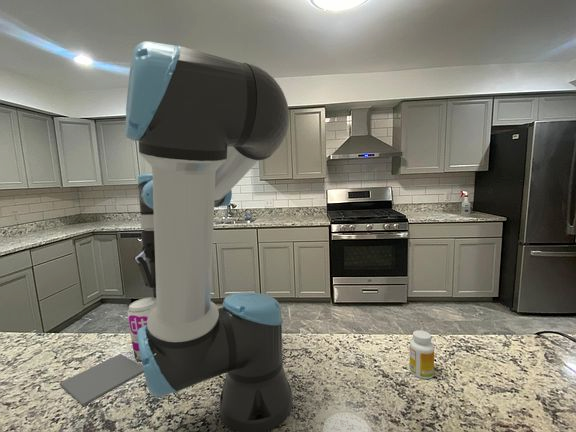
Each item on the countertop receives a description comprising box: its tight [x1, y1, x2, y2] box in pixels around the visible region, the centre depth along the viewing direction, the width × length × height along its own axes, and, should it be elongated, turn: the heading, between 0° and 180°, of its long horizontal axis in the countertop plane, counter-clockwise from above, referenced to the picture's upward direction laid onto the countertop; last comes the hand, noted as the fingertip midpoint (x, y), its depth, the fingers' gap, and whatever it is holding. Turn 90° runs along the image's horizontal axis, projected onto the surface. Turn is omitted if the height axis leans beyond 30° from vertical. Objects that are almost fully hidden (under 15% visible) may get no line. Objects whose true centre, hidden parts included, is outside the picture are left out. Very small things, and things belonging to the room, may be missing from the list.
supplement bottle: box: [409, 330, 435, 380], centre depth 67 cm, size 5×5×10 cm
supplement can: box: [126, 296, 157, 361], centre depth 77 cm, size 8×8×15 cm
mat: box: [59, 353, 144, 407], centre depth 68 cm, size 13×14×1 cm
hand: (161, 307), depth 81 cm, fingers closed
